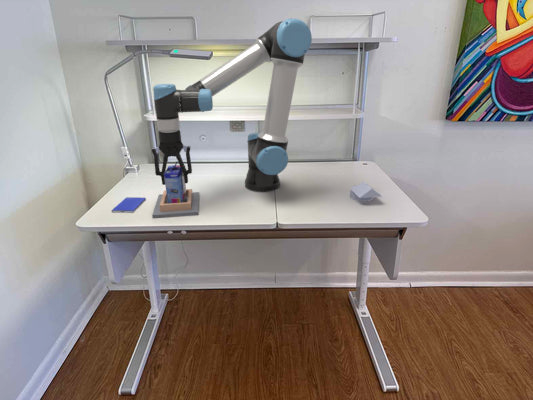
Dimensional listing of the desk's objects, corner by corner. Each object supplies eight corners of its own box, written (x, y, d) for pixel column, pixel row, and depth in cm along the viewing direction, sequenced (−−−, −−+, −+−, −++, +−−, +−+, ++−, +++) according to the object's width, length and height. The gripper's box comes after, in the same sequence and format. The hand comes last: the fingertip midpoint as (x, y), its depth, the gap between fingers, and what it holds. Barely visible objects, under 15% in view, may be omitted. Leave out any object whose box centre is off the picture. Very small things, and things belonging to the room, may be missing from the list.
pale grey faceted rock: (381, 204, 137) (367, 192, 149) (383, 187, 135) (369, 176, 147) (358, 206, 136) (346, 193, 148) (360, 189, 134) (347, 178, 146)
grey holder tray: (199, 194, 148) (198, 186, 147) (198, 214, 130) (197, 205, 129) (159, 197, 146) (158, 188, 145) (152, 218, 128) (151, 208, 127)
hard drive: (125, 197, 144) (111, 209, 133) (145, 197, 144) (132, 210, 132) (126, 200, 145) (112, 213, 133) (146, 201, 144) (133, 214, 133)
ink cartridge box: (183, 204, 133) (177, 166, 127) (167, 205, 133) (161, 167, 127) (186, 194, 142) (181, 158, 136) (172, 195, 142) (166, 159, 136)
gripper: (196, 127, 132) (201, 186, 141) (143, 129, 129) (152, 190, 138) (195, 131, 125) (201, 193, 134) (140, 133, 123) (149, 197, 131)
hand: (176, 191), depth 136 cm, fingers closed on ink cartridge box, 5 cm apart
